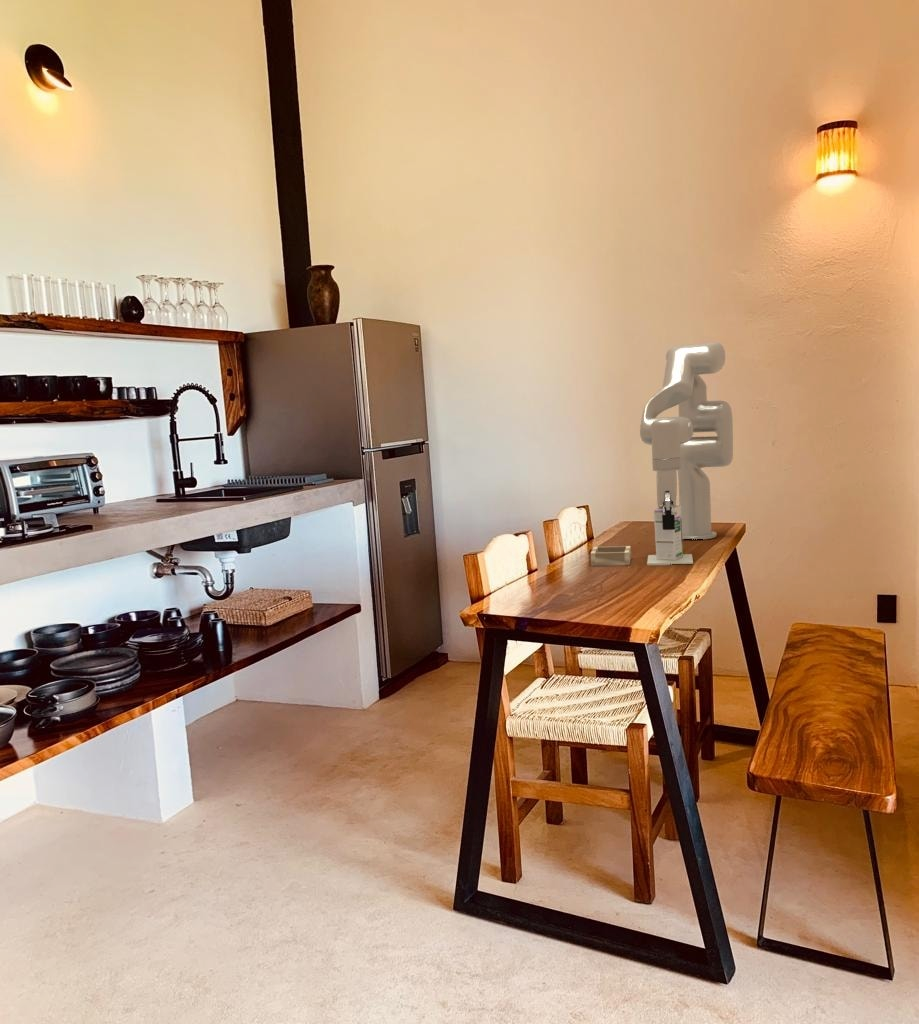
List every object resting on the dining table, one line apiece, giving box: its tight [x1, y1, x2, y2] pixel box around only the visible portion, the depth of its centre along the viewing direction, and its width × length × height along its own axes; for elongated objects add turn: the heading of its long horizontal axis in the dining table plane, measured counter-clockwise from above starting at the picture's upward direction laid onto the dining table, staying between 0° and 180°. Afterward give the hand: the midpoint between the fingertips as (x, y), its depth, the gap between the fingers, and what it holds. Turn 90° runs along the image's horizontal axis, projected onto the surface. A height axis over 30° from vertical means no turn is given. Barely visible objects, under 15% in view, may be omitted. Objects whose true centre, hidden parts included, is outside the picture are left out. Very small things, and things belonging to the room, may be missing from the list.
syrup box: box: [653, 505, 684, 561], centre depth 235 cm, size 6×6×14 cm
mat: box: [646, 553, 694, 566], centre depth 236 cm, size 12×12×1 cm
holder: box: [590, 545, 632, 567], centre depth 239 cm, size 10×10×4 cm
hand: (668, 526), depth 234 cm, fingers open, 9 cm apart
